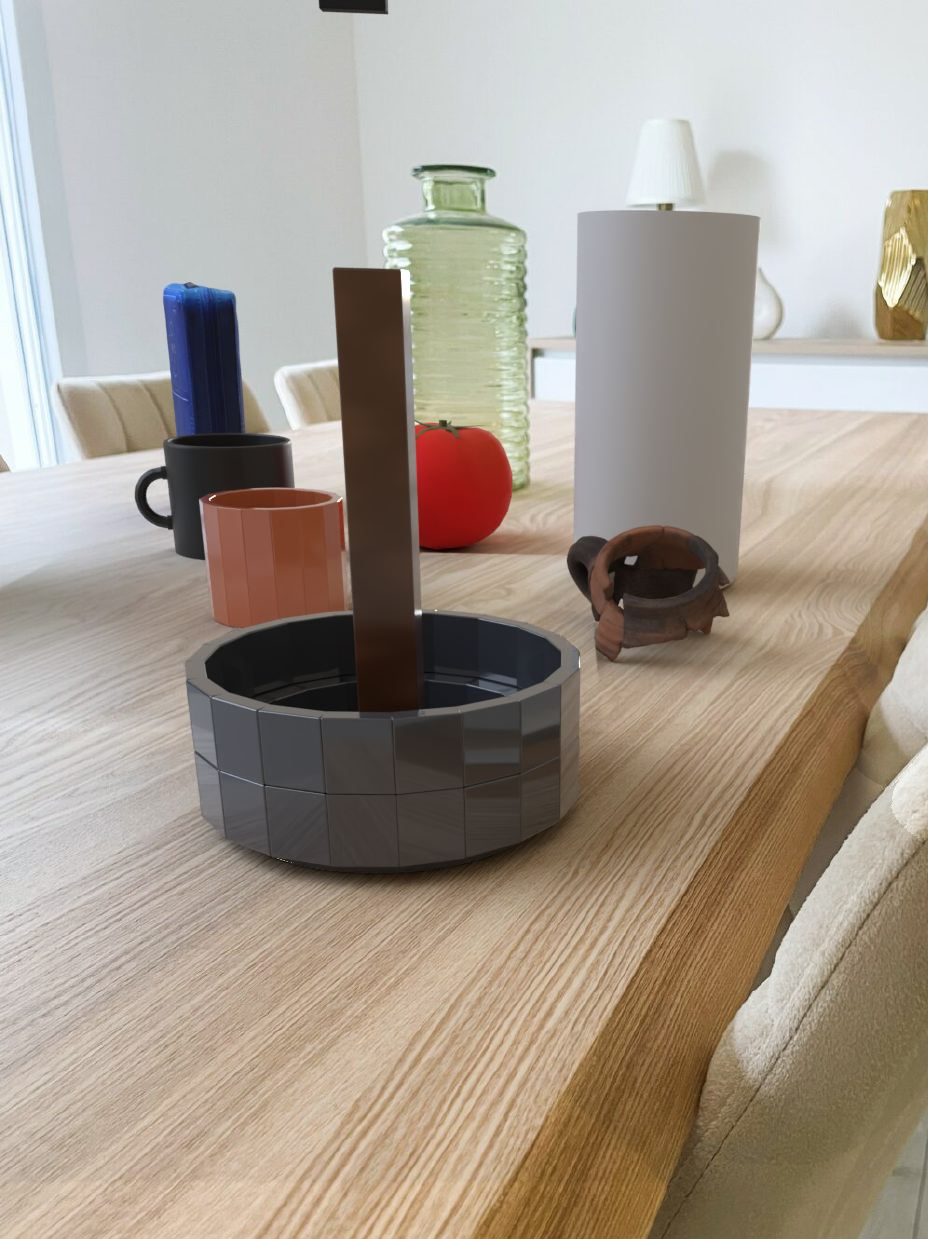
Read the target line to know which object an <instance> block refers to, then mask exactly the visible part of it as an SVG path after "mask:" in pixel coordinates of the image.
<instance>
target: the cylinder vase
mask: <svg viewBox="0 0 928 1239" xmlns="http://www.w3.org/2000/svg"><path fill="white" fill-rule="evenodd" d="M576 215H577V218H576V221H577V224H576V226H577V228H576V298H575V299H576V303H575V305H576V306H575V307H576V308H575V317H576V318H575V377H574V378H575V380H574V381H575V384H574V386H575V387H574V390H575V391H574V464H573V465H574V466H573V468H574V470H573V471H574V472H573V537H572V538H573V540H572V542H573V544H574V543H576V542H577V540H578V539H580V538H581V537H583V536H597V537H601V538H604V539H606V540H607V541H609V540H610V539H612V538H613V537H615V536H617V535H618V534H620V533H623V532H625V531H628V530H630V529H633V528H637V527H642V526H652V525H661V526H662V527H664V526H671V527H676V528H679V529H683V530H686V531H688V532H690V533H692V534H694V535H697V536H699V537H701V538H702V539H704V540H705V541H706V542H707V543H708V544H709V545H710V546H711V547H712V548H713V549H714V550H715V551H716V552H717V554H718V556H719V563H718V566H720V567H721V569H722V570H723V572H724V573H725V574H726V576H727V577H728V579H729V581H730V584H726V585H724V586H720V585H719V587H720V589H721V590H722V589H725V588H726V587H729V586H730V585H731V584H732V583H733V582H734V581H735V580H736V578H737V576H738V570H739V558H740V557H739V556H740V544H741V543H740V542H741V529H742V528H741V527H742V513H743V511H742V510H743V497H744V482H745V468H746V454H747V453H746V452H747V451H746V450H747V437H748V422H749V408H750V407H749V406H750V405H749V404H750V392H751V379H752V378H751V377H752V361H753V346H754V330H755V316H756V300H757V285H758V271H759V256H760V255H759V254H760V240H761V228H762V227H761V226H762V217H761V216H758V215H753V214H744V213H733V212H717V211H716V212H715V211H694V210H664V209H663V210H662V209H659V210H656V209H654V210H653V209H651V210H650V209H621V210H618V209H616V210H615V209H614V210H612V209H611V210H589V211H588V210H587V211H581V212H577V214H576ZM573 544H572V545H573ZM636 559H637V556H634V557H626V560H625V564H631V565H633V564H634V563H635V561H636ZM704 575H705V568H704V569H698V572H697V575H696V578H695V582H694V584H693V587H695V586H696V585H697V584H698V583H699V582H700V580H701V579H702V578H703V576H704Z"/></svg>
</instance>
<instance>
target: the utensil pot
mask: <svg viewBox="0 0 928 1239" xmlns="http://www.w3.org/2000/svg"><path fill="white" fill-rule="evenodd" d="M343 503H344V502H343V497H342V496H341V495H339V494H338V493H336V492H332V491H326V490H323V489H313V488H301V487H295V488H250V489H239V490H229V491H222V492H217V493H212V494H208V495H206V496H204V497H202V498H200V499H199V504H200V513H201V522H202V532H203V541H204V550H205V560H204V561H205V569H206V579H207V588H208V597H209V605H210V614H211V616H212V619H213V620H214V621H215V622H216V623H218V624H220V625H223V626H226V627H229V628H234V629H242V628H246V627H250V626H254V625H258V624H262V623H266V622H270V621H274V620H278V619H282V618H289V617H296V616H303V615H310V614H317V613H324V612H336V611H350V604H349V603H350V602H349V587H348V584H349V583H348V568H347V554H346V552H347V551H346V538H345V537H346V536H345V520H344V504H343Z"/></svg>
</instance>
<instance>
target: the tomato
mask: <svg viewBox="0 0 928 1239" xmlns="http://www.w3.org/2000/svg"><path fill="white" fill-rule="evenodd" d="M415 423H417V424H415V444H416V471H417V499H418V526H419V547H422V548H428V549H431V550H432V549H433V550H444V549H445V550H447V549H453V548H464V547H470V546H473V545H476V544H478V543H480V542H481V541H483V540H484V539H486V538H488V537H489V536H491V535H492V534H494V533H495V532H496V530H498V528H500V526H501V525H502V523H503V521H504V519H505V517H506V515H507V514H508V512H509V509H510V505H511V501H512V497H513V486H514V485H513V484H514V479H513V470H512V467H511V464H510V461H509V459H508V455H507V453H506V451H505V448H504V446H503V444H502V443H501V441H500V440H499V438H497V437H496V436H495V435H494V434H493V433H492V432H491V431H489V430H487V429H483V428H480V427H482V426H484V424H481V425H479V424H478V425H476V426H475V425H453V424H452V419H451V420H450V421H448V420H447V419H439V420H438V422H421V421H419V420H417V419H415Z"/></svg>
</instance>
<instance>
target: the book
mask: <svg viewBox="0 0 928 1239" xmlns="http://www.w3.org/2000/svg"><path fill="white" fill-rule="evenodd" d="M162 302H163V304H162V305H163V311H164V321H165V322H164V323H165V332H166V342H167V344H166V345H167V350H168V359H169V361H168V362H169V370H170V371H169V373H170V383H171V394H172V401H173V409H174V412H173V413H174V423H175V430H176V432H175V433H176V437H177V436H184V435H194V434H212V433H246V432H247V431H246V421H245V420H246V419H245V404H244V403H245V402H244V389H243V388H244V387H243V377H242V365H241V364H242V363H241V354H240V353H241V350H240V330H239V320H238V314H237V297H236V294H235V293H234V292H233V291H232V290H227V289H219V288H216V287H215V288H214V287H213V288H212V287H207V286H206V285H205V286H204V285H199V284H195V283H193V282H191V281H187V282H185V283H177V282H174V283H169V284H167V285H166V286H165V287H164V289H163V293H162Z"/></svg>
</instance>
